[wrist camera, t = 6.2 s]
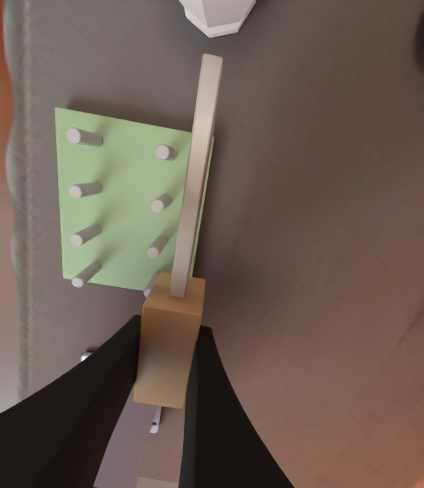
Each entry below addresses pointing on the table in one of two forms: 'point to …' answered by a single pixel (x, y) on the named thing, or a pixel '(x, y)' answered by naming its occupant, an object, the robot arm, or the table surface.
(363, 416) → the table surface
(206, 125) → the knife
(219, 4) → the cup
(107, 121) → the rack
